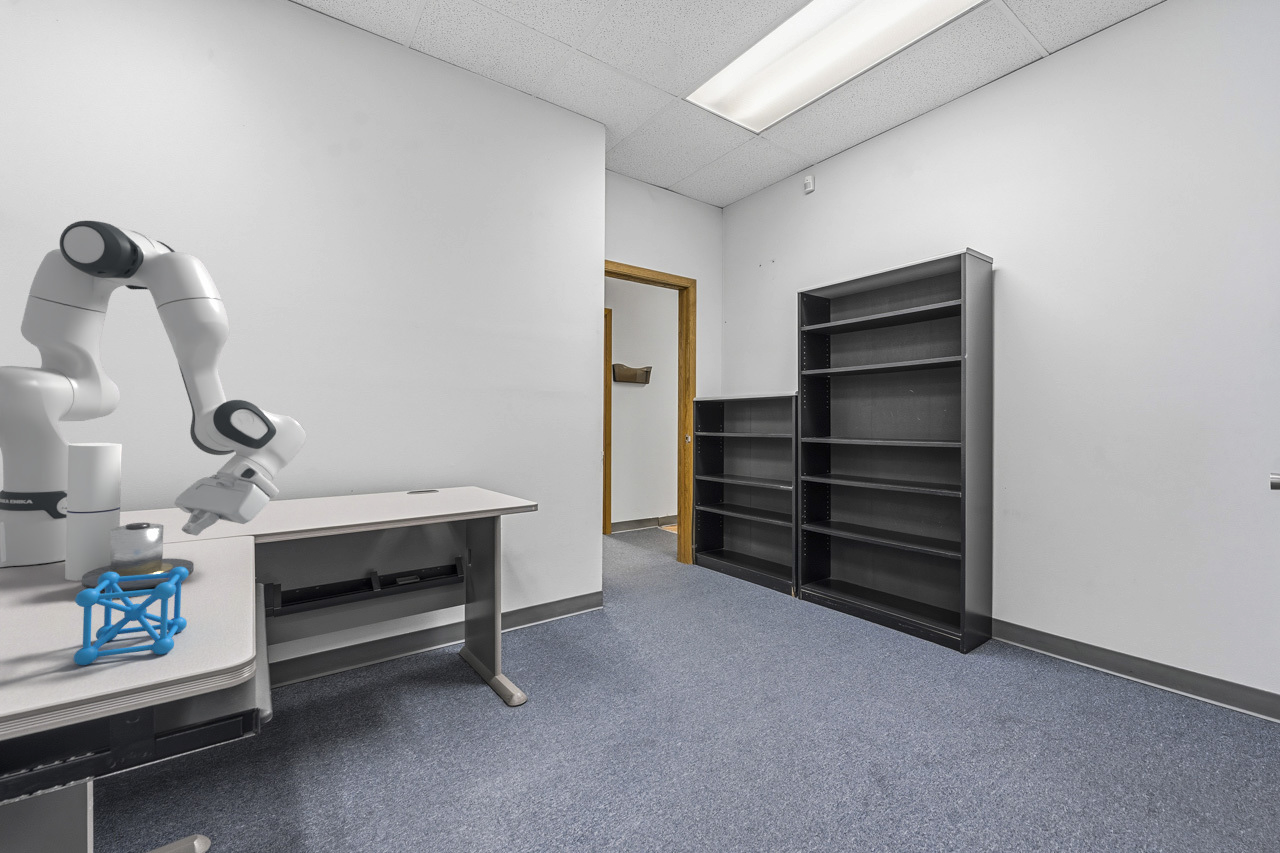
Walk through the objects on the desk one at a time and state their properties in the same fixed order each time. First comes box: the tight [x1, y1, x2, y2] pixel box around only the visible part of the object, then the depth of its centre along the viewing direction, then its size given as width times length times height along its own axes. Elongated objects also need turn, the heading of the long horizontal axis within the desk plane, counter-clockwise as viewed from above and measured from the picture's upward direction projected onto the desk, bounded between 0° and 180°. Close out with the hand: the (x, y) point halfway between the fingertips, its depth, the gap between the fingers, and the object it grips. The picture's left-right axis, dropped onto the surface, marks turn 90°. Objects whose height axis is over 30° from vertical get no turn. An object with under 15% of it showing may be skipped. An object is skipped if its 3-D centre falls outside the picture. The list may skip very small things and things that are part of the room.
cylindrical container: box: [64, 442, 123, 582], centre depth 102 cm, size 7×7×25 cm
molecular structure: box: [72, 567, 189, 666], centre depth 75 cm, size 10×10×10 cm
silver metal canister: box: [110, 522, 164, 577], centre depth 98 cm, size 7×7×9 cm
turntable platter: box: [81, 558, 195, 591], centre depth 99 cm, size 15×15×1 cm
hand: (188, 533), depth 106 cm, fingers closed
